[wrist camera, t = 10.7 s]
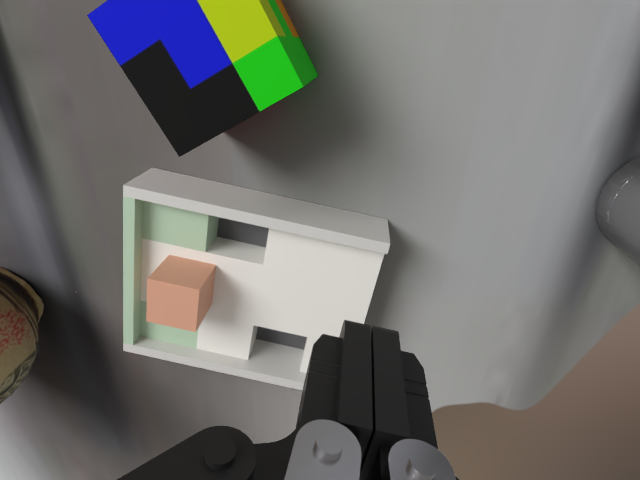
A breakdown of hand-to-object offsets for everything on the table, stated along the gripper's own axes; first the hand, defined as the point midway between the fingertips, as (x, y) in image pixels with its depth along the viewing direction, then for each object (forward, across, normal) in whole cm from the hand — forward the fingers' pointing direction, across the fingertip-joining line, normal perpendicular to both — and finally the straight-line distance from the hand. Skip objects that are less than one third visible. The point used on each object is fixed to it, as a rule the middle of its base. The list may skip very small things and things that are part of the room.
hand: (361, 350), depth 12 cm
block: (+25, +13, +16) cm, 32 cm away
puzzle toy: (+29, +12, -5) cm, 32 cm away
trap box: (+29, +8, +16) cm, 34 cm away
